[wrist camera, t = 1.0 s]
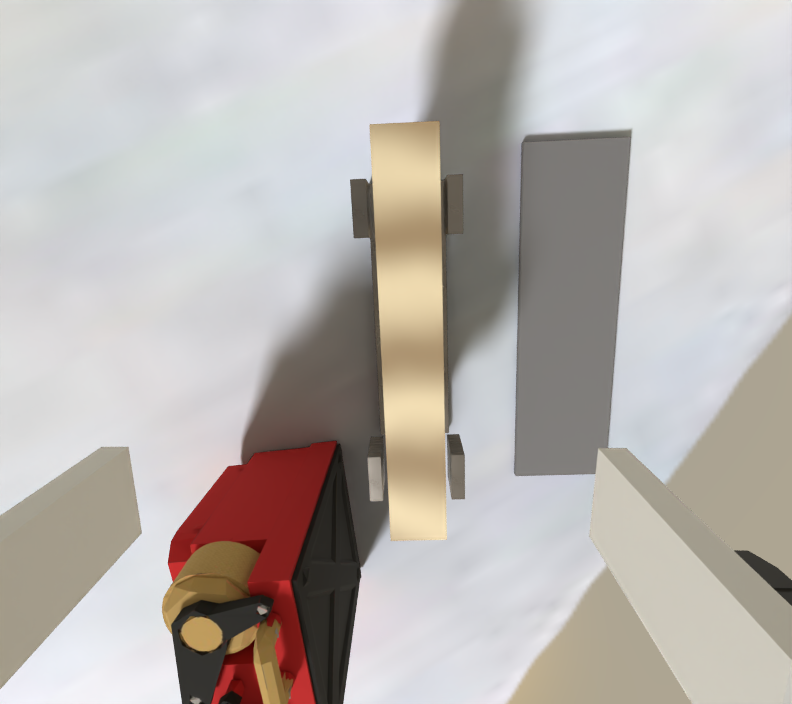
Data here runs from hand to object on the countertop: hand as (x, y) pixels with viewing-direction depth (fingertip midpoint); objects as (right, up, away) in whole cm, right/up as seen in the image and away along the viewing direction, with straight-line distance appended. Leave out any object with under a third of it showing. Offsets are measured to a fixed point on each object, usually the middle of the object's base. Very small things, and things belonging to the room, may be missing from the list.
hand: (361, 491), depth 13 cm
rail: (+2, +5, +16) cm, 17 cm away
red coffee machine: (-8, -12, +31) cm, 34 cm away
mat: (+15, +7, +26) cm, 31 cm away
